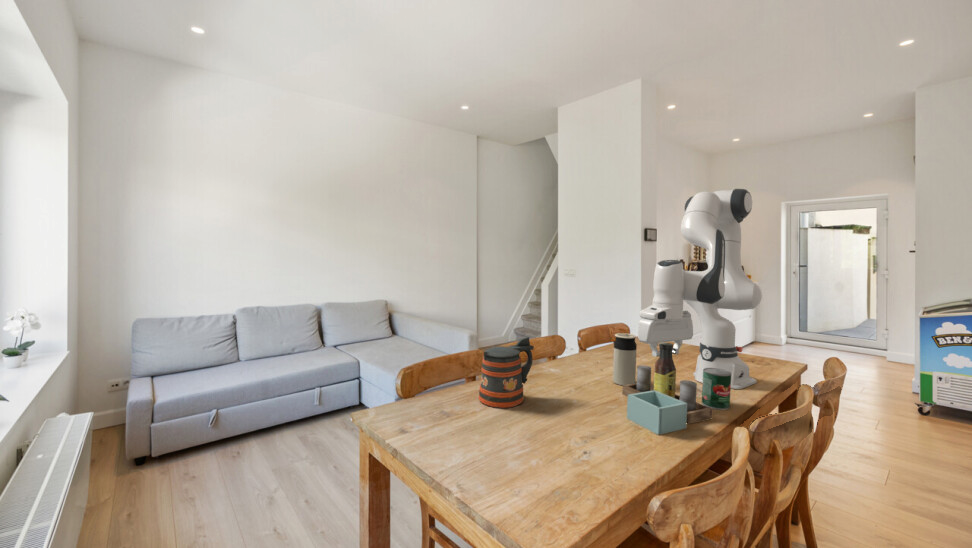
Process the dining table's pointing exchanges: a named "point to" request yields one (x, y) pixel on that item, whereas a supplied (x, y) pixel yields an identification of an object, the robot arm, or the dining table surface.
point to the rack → (687, 394)
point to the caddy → (657, 411)
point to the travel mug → (624, 359)
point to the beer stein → (504, 375)
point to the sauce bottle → (665, 371)
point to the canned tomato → (716, 388)
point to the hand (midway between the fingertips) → (665, 355)
